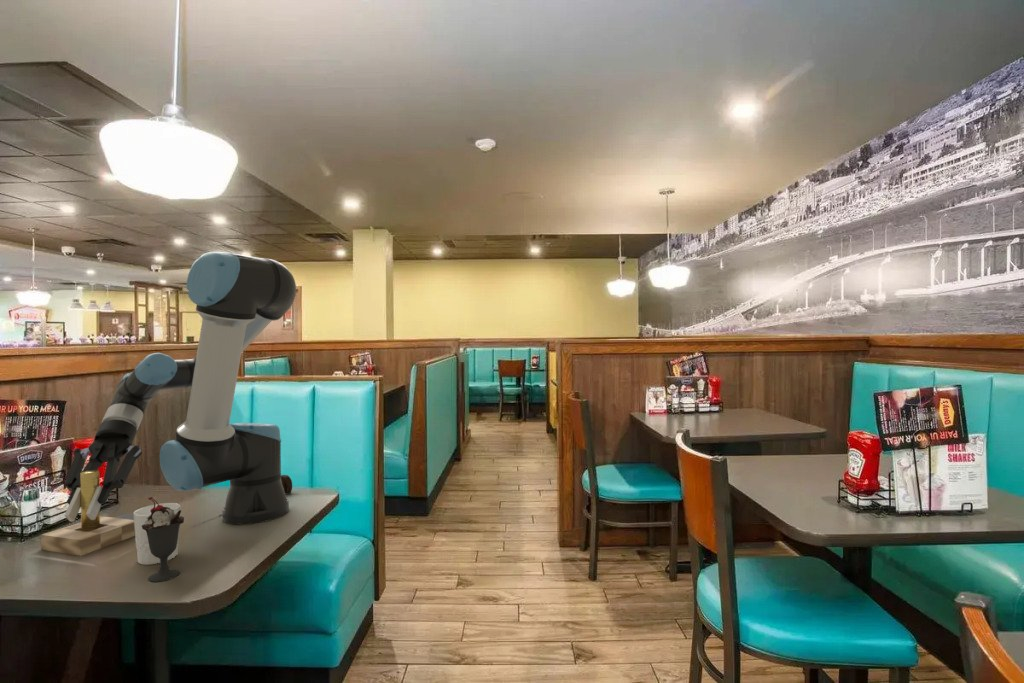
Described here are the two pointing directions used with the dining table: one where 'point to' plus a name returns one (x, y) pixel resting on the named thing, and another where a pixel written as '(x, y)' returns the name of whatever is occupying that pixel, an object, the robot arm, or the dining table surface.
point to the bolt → (286, 483)
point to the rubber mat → (125, 516)
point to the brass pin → (88, 497)
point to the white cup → (141, 534)
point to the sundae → (163, 538)
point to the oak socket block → (88, 536)
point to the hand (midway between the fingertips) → (79, 517)
